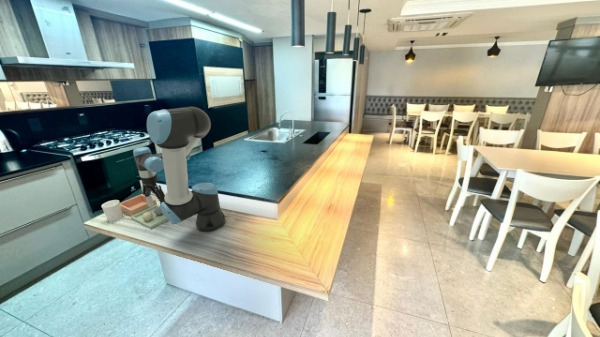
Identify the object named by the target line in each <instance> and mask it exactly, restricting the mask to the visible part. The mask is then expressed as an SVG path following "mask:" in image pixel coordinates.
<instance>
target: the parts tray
mask: <svg viewBox="0 0 600 337" xmlns="http://www.w3.org/2000/svg"><path fill="white" fill-rule="evenodd" d="M158 206H159V205H158V204H157V205H155V206H152V207H150V208H148V209H146V210H144V211H142V212H140V213H137V214H135V215H133V216H130V219H131V220H132V221H134V222H137V223H138V224H140V225H142V226H144V227H146V228H148V229H150V230H152V229H155V228H157V227H158V226H160V225H162V224H164V223H166V222H169V221H168V220H167V219H166V217H165V216H164V214H163V213H162V214H161V215H156V214H155V213H154V209H155V208H156V207H158ZM145 212H151V213H152V214H153V217H152V219H151V220H149V221H145V220H143V219H142V215H143V214H144V213H145Z"/></svg>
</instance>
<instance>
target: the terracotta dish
mask: <svg viewBox="0 0 600 337" xmlns="http://www.w3.org/2000/svg"><path fill="white" fill-rule="evenodd" d="M152 200H153V203H154V205H153V206H155V205H158V203H157V200H156V199H155V198H153V197H152ZM120 206H121V209H122V214H125V215H127V216H129V217H131V216H133V215H135V214H137V213H140V212H142V211H144V210H146V209H148V208H150V207H149V206H148V203H147V200H146V197H145V195H143V194H142V193H141V194H139V195H137V196H134V197H131V198H129V199H126V200H124V201H122V202H120ZM151 207H152V206H151Z"/></svg>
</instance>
